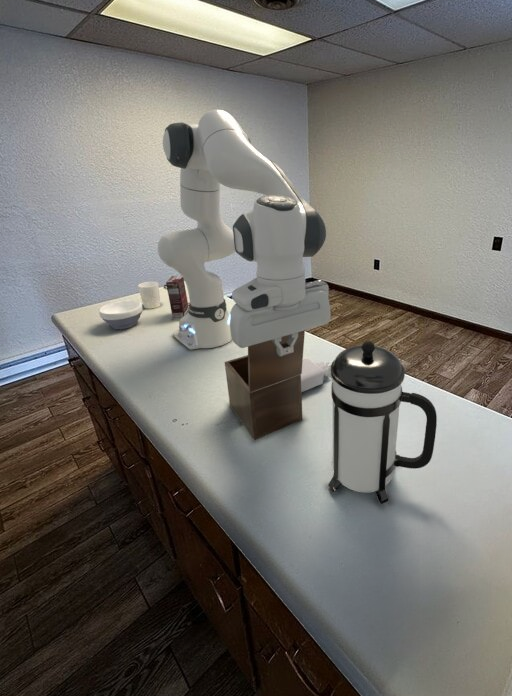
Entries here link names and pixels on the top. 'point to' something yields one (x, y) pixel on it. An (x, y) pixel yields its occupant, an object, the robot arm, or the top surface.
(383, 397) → the coffee press
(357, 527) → the top surface
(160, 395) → the top surface
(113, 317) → the bowl
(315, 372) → the tissue pack
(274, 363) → the lid
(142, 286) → the white cup
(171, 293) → the supplement box
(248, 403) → the box
